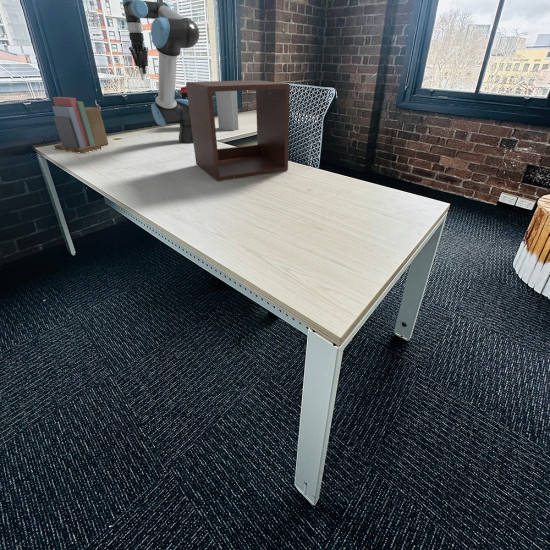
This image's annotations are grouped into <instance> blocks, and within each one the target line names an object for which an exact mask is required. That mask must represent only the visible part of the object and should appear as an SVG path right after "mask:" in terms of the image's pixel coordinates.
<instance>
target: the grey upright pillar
mask: <svg viewBox="0 0 550 550" xmlns="http://www.w3.org/2000/svg"><path fill="white" fill-rule="evenodd" d="M215 98H216V110H217V112H216V113H217V123H218V130H225V131H232V132H233V131H234V132H235V131H236V130H237V131H238V130H239V127H240V125H239V109H238V91H218V92H215Z"/></svg>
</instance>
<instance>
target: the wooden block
mask: <svg viewBox="0 0 550 550" xmlns="http://www.w3.org/2000/svg"><path fill="white" fill-rule="evenodd" d="M84 108H85V111H86V115H87V118H88V122H89V125H90V129H91V132H92V136H93V139H94V143H95V145H101V147H104V146H103V145H105V146H108V145H109V140H108V136H107V133H106V129H105V128H106V127H105V125H104V121H103V118H102V114H101V110H100V108H98V107H94V106H84Z"/></svg>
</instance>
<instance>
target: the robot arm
mask: <svg viewBox="0 0 550 550" xmlns="http://www.w3.org/2000/svg"><path fill="white" fill-rule="evenodd" d="M122 6H123V11H124V15H125V20H126V26H127V27H126V28H127V31H128V32H129V33H128V36H129V40H130V41H131V42H130V43H131V46H129V47H128V50H129V52H130V54H131V57H132V59H133V62H134V66H135V67H136V68H137V67H138V70H139V74H140V77H141V81H147V79H148V78H147V69H146V67H148V66H149V63H148V62H149V60H148V58H149V57H148V56H149V55H148V50H149V47H148V46H146V45H145V43H144V40H145V39H144V35H143V28H142V23H141V19H149V20H150V19H151V20H153V21H152V22H151V27H150V36H151V41H152V44H153V46H154V47H155V49H156V52H158V96H156V97H155V101H154V102H152V103H151V105H150V108H151V114H152V116H153V119H154V121H155V122H156V124H157V125H158V126H168V125H169V126H170V125H178V124H179V131H178V141H179V143H186V144H194V143H193V135H192V128H191V120H190V112H189V104H188V100H185V99H182V98H176V99H175V94H176V93H175V92H176V78H177V77H176V75H177V60H178V59H177V57H179V56H180V55H181V49H190V48H193V47H194V46H195V45H197V44H198V42H199V39H200V30H199V27H198V25H197V23H196V22H195V21H194V20H192V19H191V18H188V17H184V16H182V15H180V14H179V13H178V12H176V11H174V10H173V9H172V5H171V4H170V3H167V2H164V1H162V2H160V1H150V0H122Z"/></svg>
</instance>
